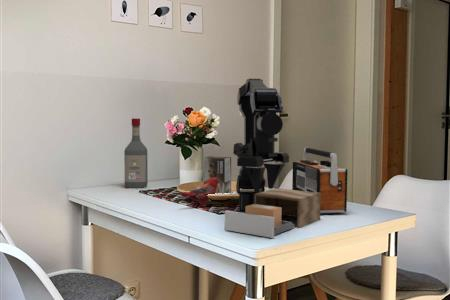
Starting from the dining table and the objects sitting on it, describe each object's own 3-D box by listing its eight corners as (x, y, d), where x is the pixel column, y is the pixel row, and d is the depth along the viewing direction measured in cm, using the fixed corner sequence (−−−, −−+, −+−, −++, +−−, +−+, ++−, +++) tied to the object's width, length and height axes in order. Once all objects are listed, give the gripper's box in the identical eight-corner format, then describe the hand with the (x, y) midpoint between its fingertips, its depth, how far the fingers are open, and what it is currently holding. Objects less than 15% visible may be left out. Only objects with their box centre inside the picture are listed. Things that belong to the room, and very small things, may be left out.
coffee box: (231, 199, 185) (232, 156, 184) (224, 202, 179) (225, 158, 178) (210, 197, 189) (210, 155, 187) (202, 200, 183) (202, 157, 182)
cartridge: (245, 223, 137) (245, 205, 137) (253, 221, 141) (254, 203, 141) (273, 228, 132) (273, 209, 132) (281, 225, 136) (281, 207, 135)
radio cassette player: (291, 200, 184) (291, 147, 182) (317, 200, 185) (318, 147, 184) (318, 216, 155) (319, 153, 153) (349, 215, 156) (350, 153, 155)
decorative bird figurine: (221, 205, 173) (222, 176, 172) (180, 210, 162) (180, 180, 161) (216, 203, 175) (217, 176, 174) (175, 209, 164) (175, 179, 163)
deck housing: (299, 228, 138) (299, 199, 138) (254, 221, 147) (254, 193, 146) (320, 219, 150) (320, 192, 149) (277, 213, 158) (277, 188, 158)
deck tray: (272, 237, 126) (272, 217, 125) (224, 229, 134) (224, 210, 134) (297, 227, 137) (297, 209, 137) (252, 220, 146) (252, 203, 145)
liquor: (145, 188, 210) (144, 118, 208) (123, 188, 210) (123, 118, 207) (148, 185, 219) (147, 118, 217) (127, 185, 219) (127, 118, 217)
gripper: (257, 132, 147) (256, 184, 148) (220, 134, 132) (220, 191, 133) (290, 133, 140) (289, 187, 142) (256, 135, 125) (255, 195, 126)
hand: (263, 190), depth 136 cm, fingers open, 7 cm apart
